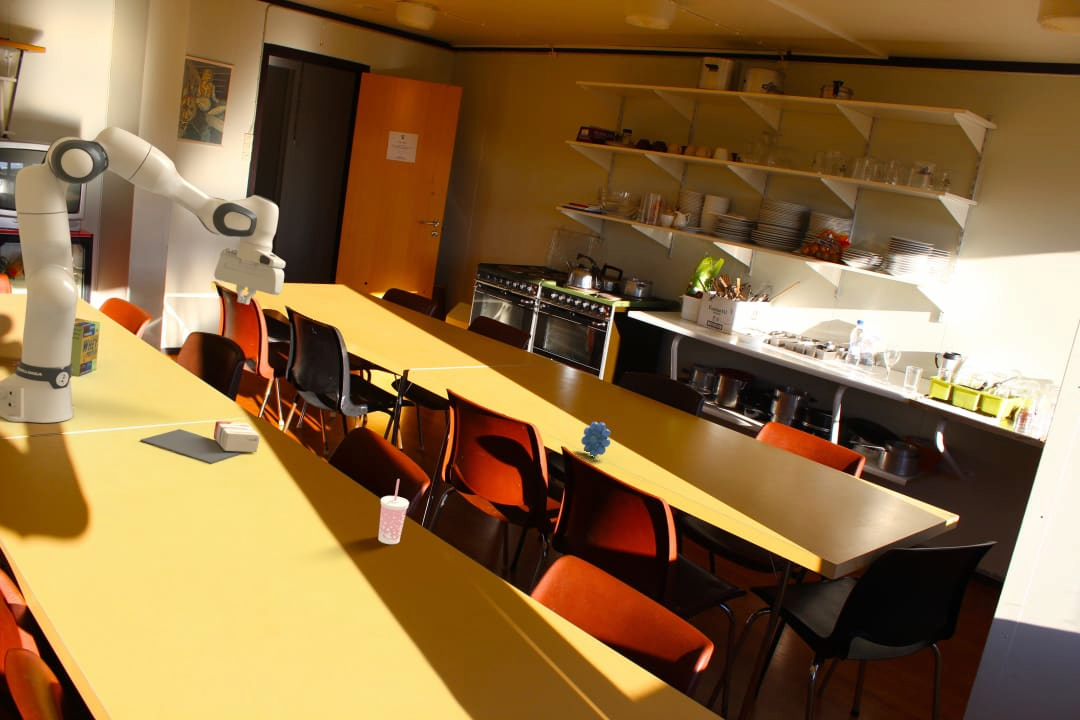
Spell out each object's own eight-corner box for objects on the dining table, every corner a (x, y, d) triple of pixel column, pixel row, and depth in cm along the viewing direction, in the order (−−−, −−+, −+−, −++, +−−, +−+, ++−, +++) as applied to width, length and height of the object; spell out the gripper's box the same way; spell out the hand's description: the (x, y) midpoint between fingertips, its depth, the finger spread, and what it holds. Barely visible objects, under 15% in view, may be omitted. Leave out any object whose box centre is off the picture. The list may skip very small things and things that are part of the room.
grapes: (614, 462, 284) (622, 426, 282) (600, 463, 280) (607, 427, 277) (589, 450, 293) (596, 415, 290) (574, 451, 288) (581, 415, 286)
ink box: (212, 438, 237) (223, 451, 227) (215, 420, 236) (226, 432, 227) (245, 440, 242) (257, 452, 232) (248, 422, 241) (260, 434, 232)
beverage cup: (390, 548, 191) (399, 486, 188) (368, 538, 194) (378, 477, 191) (408, 541, 196) (418, 481, 194) (387, 531, 199) (397, 472, 197)
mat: (140, 441, 226) (140, 439, 226) (179, 430, 240) (179, 429, 239) (210, 464, 220) (210, 462, 220) (247, 451, 233) (247, 450, 233)
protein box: (79, 377, 270) (84, 327, 268) (29, 368, 270) (32, 317, 267) (97, 370, 281) (101, 322, 278) (48, 361, 280) (52, 313, 278)
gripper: (215, 245, 249) (204, 293, 250) (278, 262, 243) (267, 311, 245) (229, 248, 255) (218, 295, 256) (290, 264, 249) (280, 312, 251)
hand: (243, 303), depth 250 cm, fingers closed
